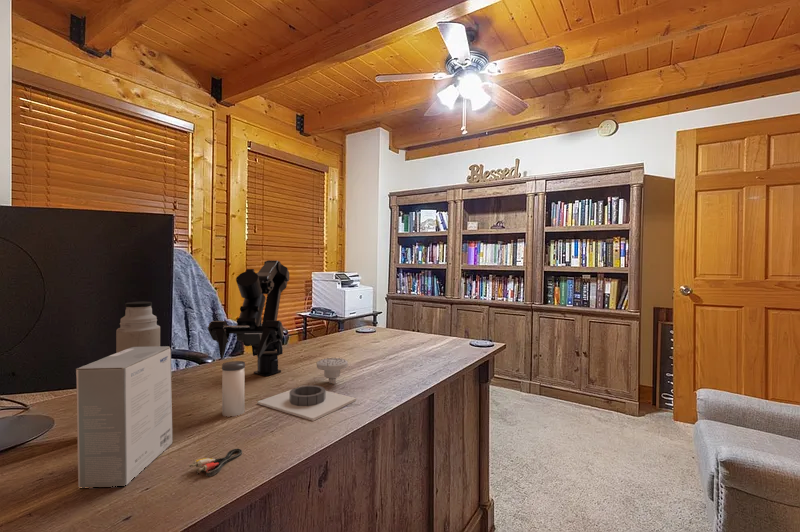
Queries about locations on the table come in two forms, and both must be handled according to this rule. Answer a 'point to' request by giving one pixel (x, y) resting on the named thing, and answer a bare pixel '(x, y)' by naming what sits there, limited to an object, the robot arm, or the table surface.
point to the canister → (233, 388)
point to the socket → (307, 402)
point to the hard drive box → (123, 415)
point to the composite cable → (215, 463)
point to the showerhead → (332, 367)
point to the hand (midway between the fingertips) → (239, 357)
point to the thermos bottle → (137, 327)
